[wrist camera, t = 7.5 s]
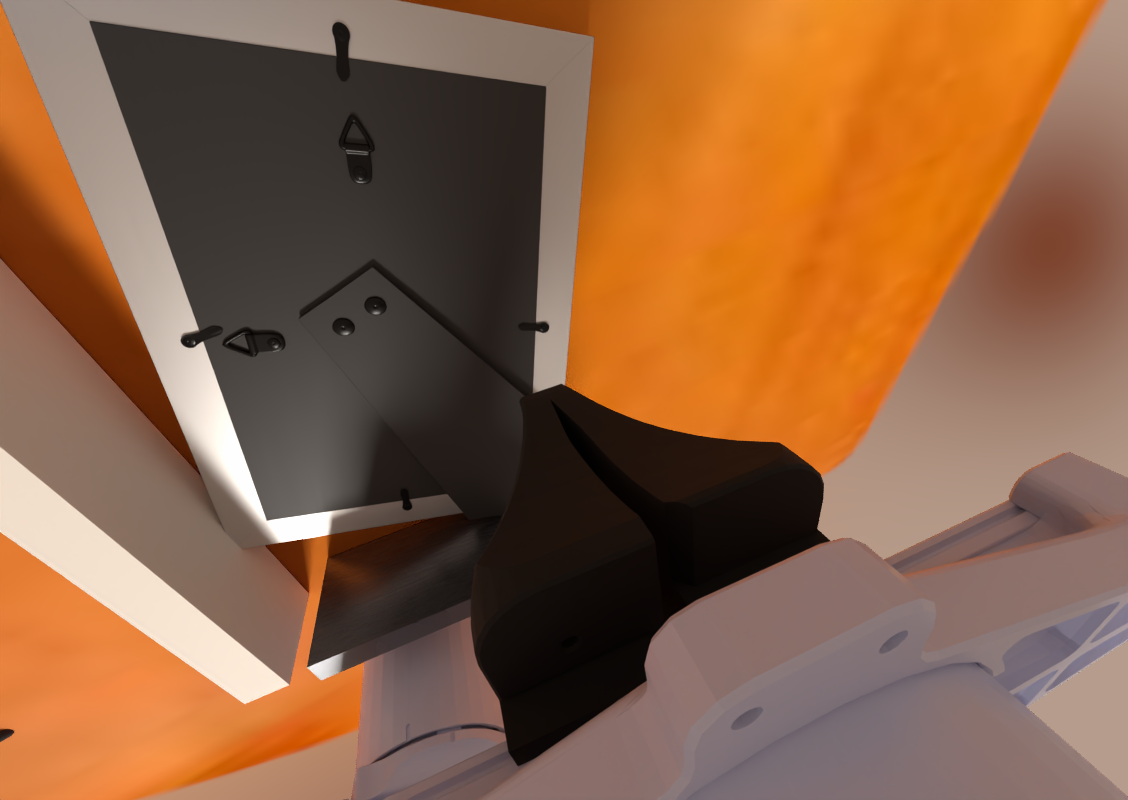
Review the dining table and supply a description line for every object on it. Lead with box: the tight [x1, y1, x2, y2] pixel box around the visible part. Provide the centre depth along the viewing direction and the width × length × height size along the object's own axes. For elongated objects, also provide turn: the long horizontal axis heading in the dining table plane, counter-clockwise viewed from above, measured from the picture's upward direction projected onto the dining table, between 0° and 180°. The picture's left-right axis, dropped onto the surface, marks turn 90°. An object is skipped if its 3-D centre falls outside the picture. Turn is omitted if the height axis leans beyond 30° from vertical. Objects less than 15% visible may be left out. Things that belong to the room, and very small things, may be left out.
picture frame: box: [0, 0, 594, 549], centre depth 18 cm, size 16×3×21 cm
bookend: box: [307, 513, 502, 680], centre depth 22 cm, size 1×10×6 cm, turn 102°
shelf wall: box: [0, 259, 309, 704], centre depth 14 cm, size 28×2×5 cm, turn 12°
